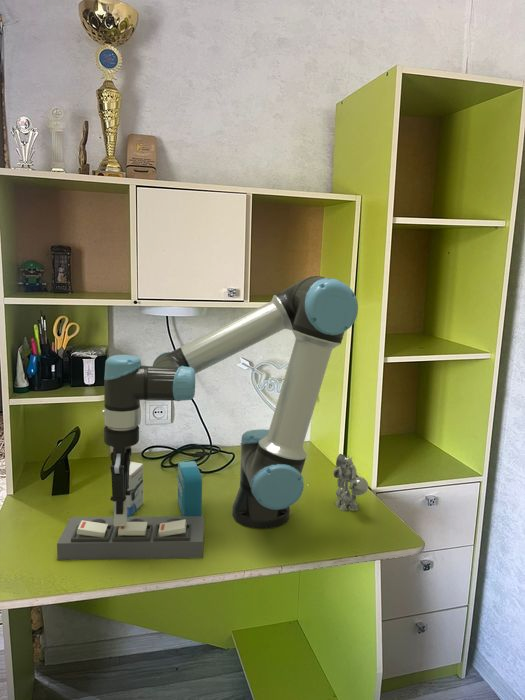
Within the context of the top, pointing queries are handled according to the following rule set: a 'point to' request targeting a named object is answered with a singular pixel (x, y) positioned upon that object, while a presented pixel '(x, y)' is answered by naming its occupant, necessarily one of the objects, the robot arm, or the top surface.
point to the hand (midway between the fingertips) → (120, 524)
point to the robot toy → (344, 476)
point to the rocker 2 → (172, 528)
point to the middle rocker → (133, 528)
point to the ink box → (135, 488)
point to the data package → (189, 489)
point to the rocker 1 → (92, 528)
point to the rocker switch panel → (132, 540)
